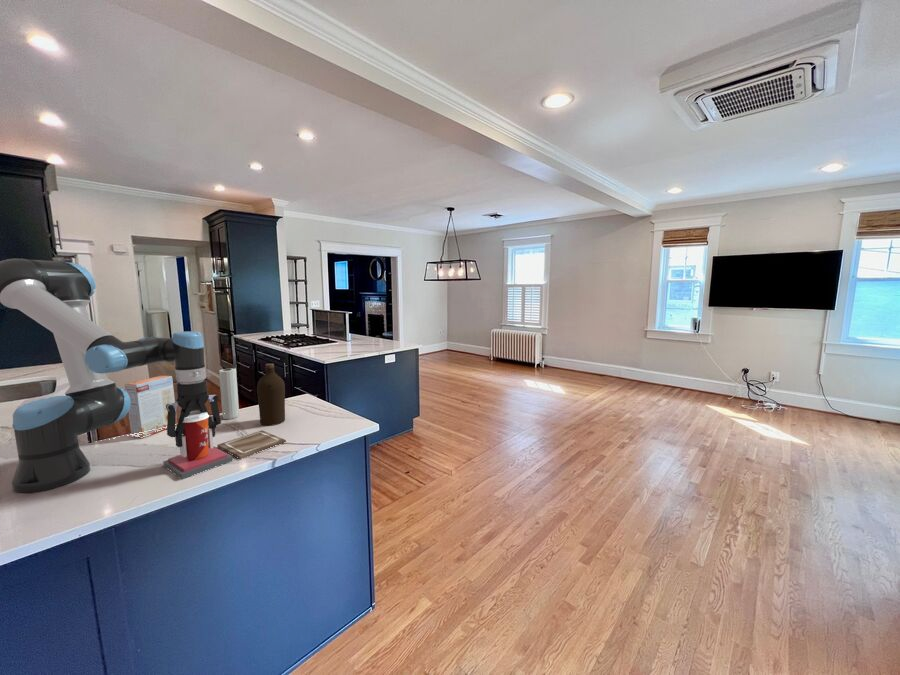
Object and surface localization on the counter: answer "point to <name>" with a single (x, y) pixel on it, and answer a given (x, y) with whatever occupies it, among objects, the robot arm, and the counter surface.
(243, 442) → the marked board
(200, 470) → the ink pad
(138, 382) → the cracker box
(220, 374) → the paper towel roll
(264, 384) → the olive oil
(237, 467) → the counter surface
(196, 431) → the paper cup
